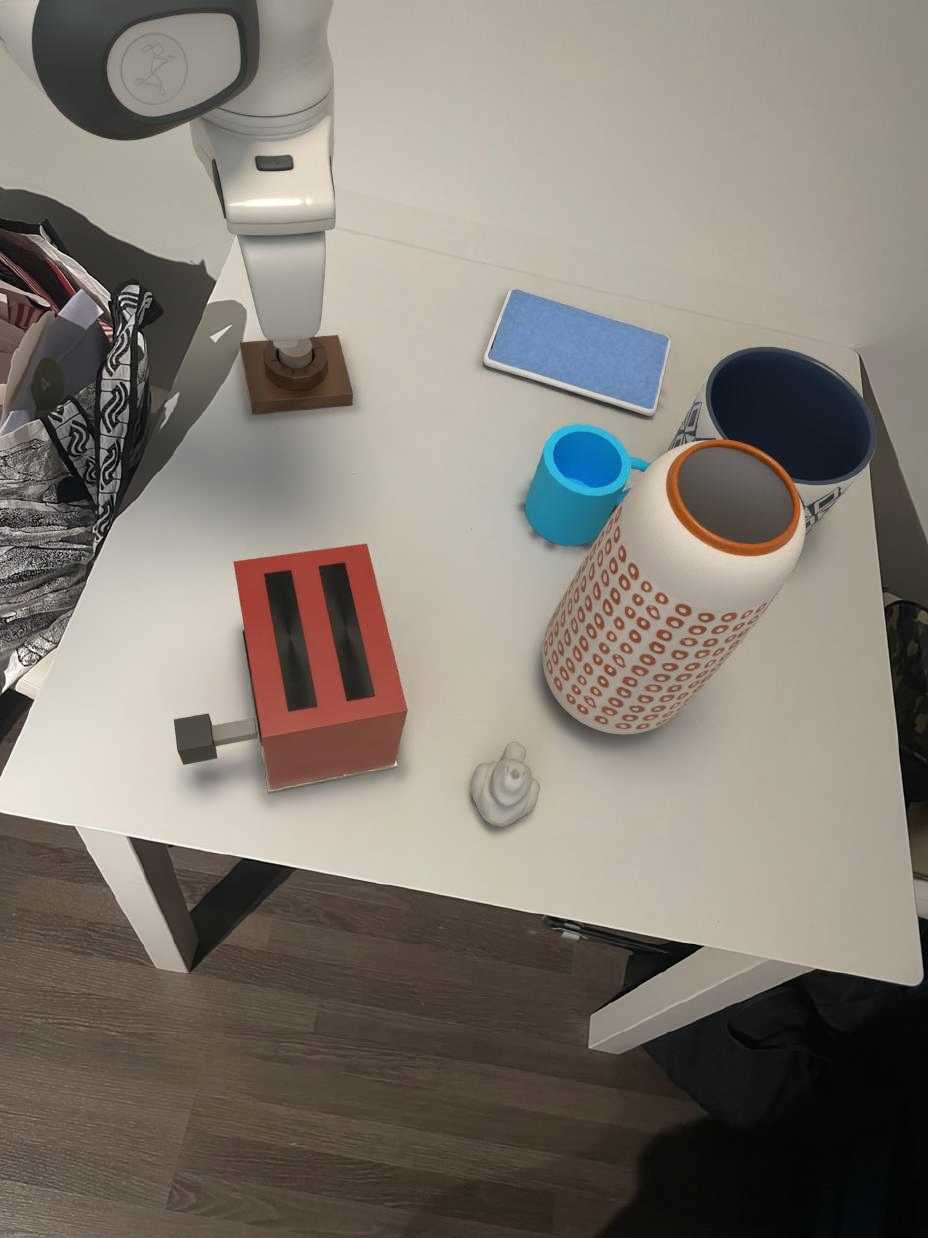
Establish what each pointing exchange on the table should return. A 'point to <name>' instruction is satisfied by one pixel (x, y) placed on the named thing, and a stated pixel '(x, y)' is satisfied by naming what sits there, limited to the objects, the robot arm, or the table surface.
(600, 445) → the mug
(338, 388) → the control block
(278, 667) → the toaster
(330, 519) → the table surface
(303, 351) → the button
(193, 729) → the toaster slider
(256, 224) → the robot arm
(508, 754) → the rubber duck
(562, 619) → the vase
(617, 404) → the tablet
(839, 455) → the planter
